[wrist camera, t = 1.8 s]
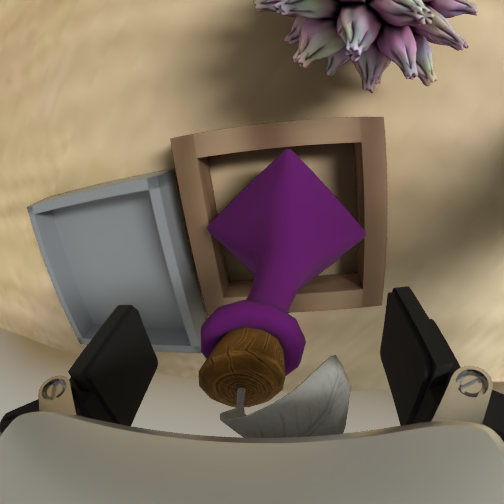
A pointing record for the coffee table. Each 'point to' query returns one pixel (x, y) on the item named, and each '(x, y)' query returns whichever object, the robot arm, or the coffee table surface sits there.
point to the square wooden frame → (275, 136)
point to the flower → (371, 33)
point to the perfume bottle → (277, 304)
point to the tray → (123, 258)
